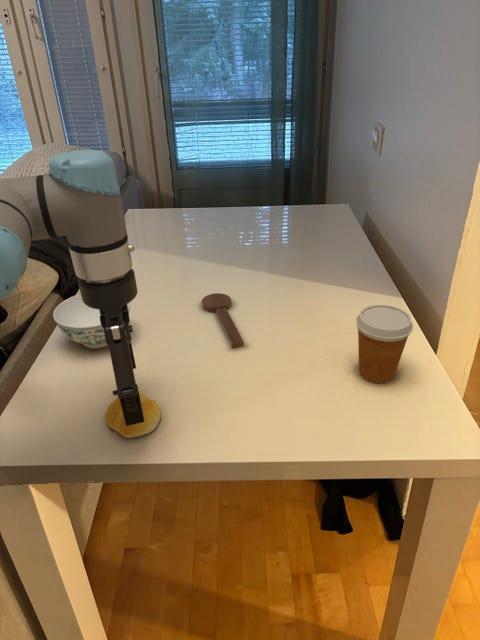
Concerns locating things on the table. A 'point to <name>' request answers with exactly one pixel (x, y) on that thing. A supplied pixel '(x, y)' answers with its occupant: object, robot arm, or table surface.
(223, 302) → the wooden spoon
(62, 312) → the chinaware
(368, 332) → the disposable coffee cup
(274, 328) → the table surface
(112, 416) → the bread roll
